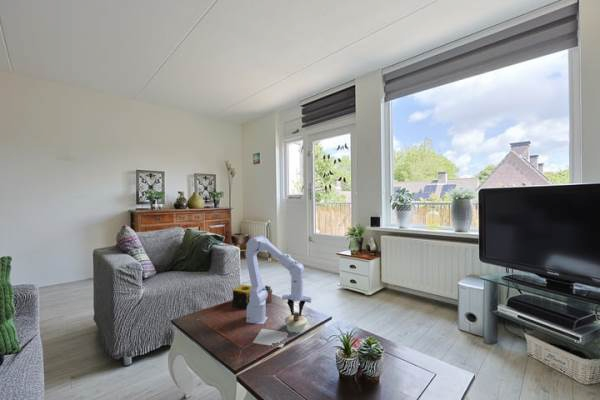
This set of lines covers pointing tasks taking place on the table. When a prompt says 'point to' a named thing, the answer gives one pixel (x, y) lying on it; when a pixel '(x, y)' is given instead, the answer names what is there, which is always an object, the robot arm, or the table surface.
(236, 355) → the table surface
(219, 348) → the table surface
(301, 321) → the lid
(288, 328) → the bowl
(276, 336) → the mat
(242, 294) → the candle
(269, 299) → the lighter
